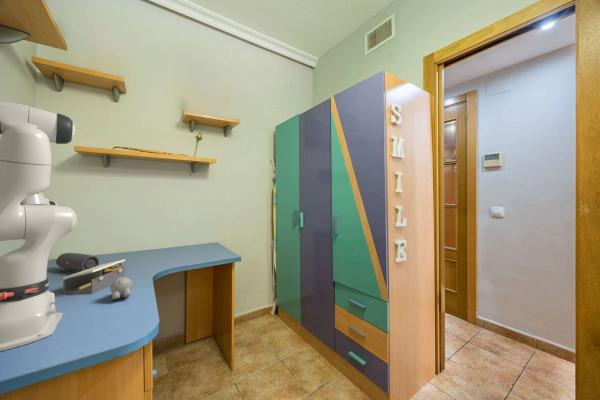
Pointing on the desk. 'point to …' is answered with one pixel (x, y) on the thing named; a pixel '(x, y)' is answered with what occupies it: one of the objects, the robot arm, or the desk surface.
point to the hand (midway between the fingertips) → (39, 232)
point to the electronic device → (112, 268)
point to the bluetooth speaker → (77, 261)
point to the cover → (93, 269)
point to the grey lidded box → (91, 282)
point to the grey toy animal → (121, 288)
